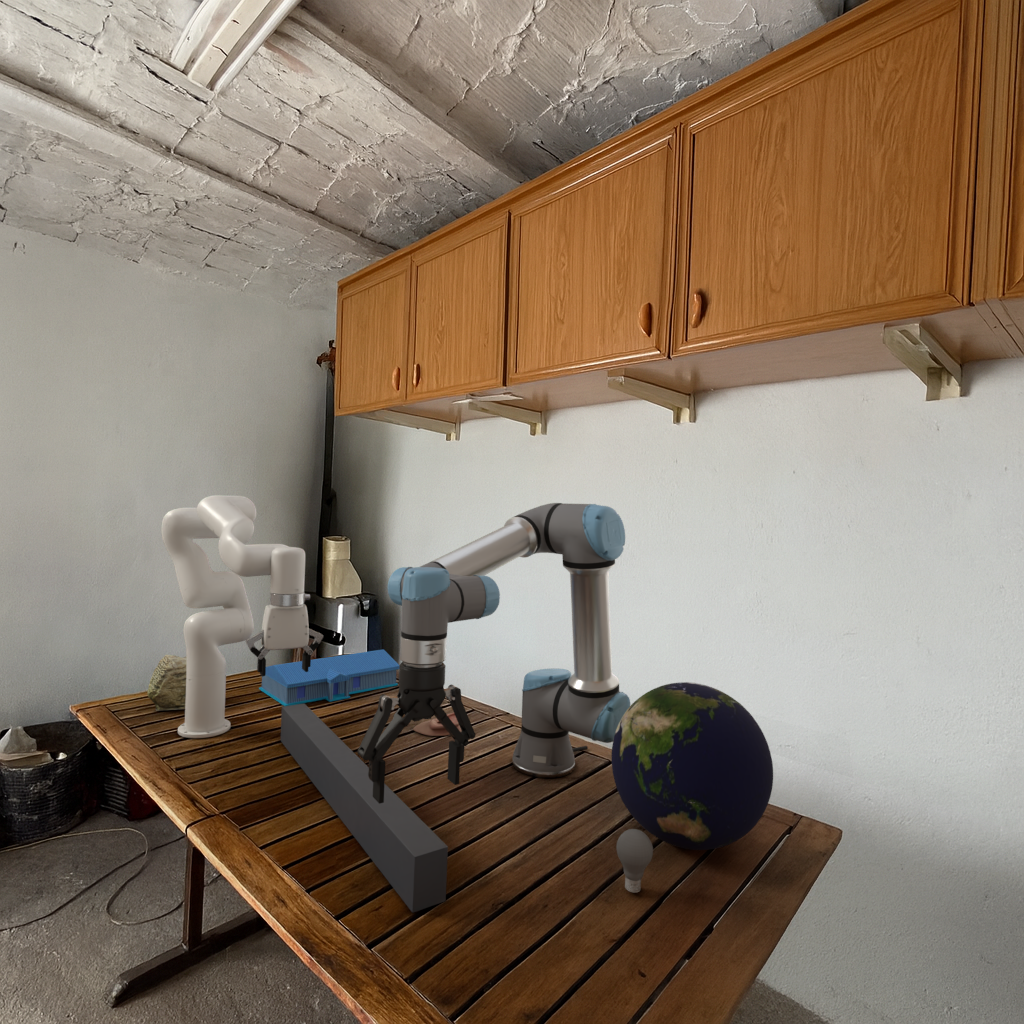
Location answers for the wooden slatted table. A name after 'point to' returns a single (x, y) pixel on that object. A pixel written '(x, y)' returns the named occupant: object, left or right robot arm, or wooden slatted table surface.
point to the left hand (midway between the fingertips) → (284, 672)
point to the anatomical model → (435, 726)
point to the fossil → (169, 683)
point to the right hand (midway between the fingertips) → (416, 790)
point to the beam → (369, 810)
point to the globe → (692, 766)
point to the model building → (330, 677)
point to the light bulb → (634, 857)
